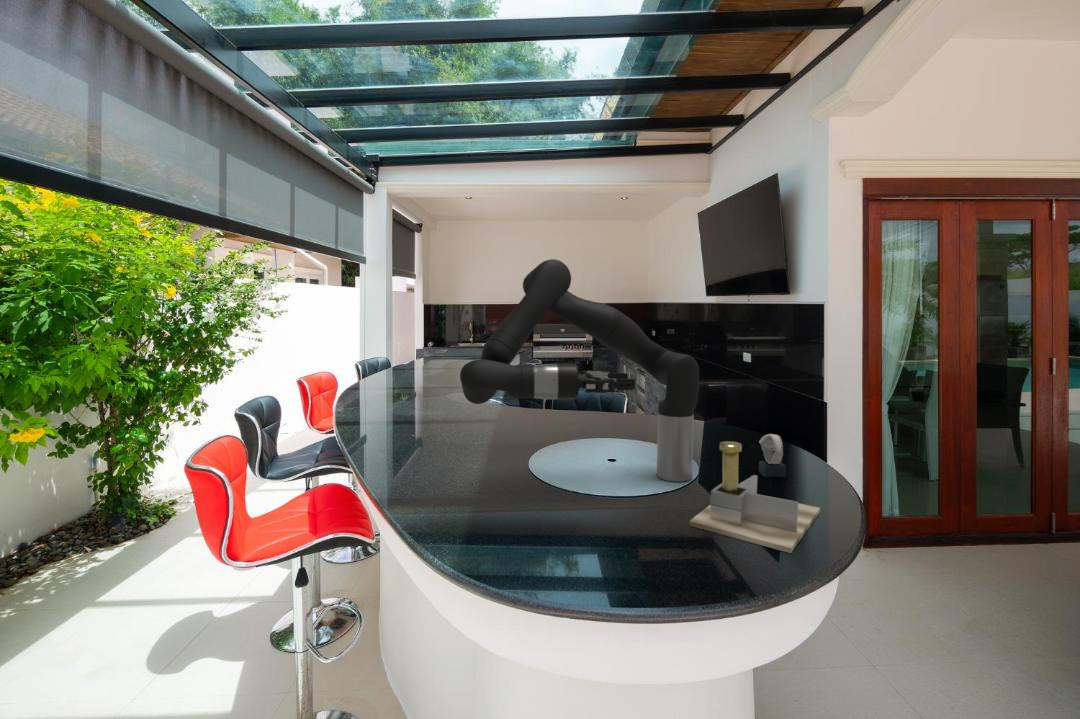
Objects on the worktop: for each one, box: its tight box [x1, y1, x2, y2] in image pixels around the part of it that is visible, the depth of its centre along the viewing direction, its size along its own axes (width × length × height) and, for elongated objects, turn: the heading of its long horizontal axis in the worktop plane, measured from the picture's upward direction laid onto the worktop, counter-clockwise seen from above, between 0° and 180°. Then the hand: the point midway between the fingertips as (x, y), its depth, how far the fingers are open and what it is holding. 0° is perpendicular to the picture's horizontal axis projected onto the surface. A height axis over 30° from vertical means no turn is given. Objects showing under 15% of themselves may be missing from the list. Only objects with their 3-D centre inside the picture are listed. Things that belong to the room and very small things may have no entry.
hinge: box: [709, 474, 799, 532], centre depth 116 cm, size 16×16×6 cm
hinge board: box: [688, 502, 821, 554], centre depth 117 cm, size 25×20×1 cm
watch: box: [758, 433, 787, 478], centre depth 146 cm, size 6×8×11 cm
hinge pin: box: [719, 440, 743, 495], centre depth 115 cm, size 4×4×16 cm
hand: (630, 381), depth 115 cm, fingers open, 8 cm apart
